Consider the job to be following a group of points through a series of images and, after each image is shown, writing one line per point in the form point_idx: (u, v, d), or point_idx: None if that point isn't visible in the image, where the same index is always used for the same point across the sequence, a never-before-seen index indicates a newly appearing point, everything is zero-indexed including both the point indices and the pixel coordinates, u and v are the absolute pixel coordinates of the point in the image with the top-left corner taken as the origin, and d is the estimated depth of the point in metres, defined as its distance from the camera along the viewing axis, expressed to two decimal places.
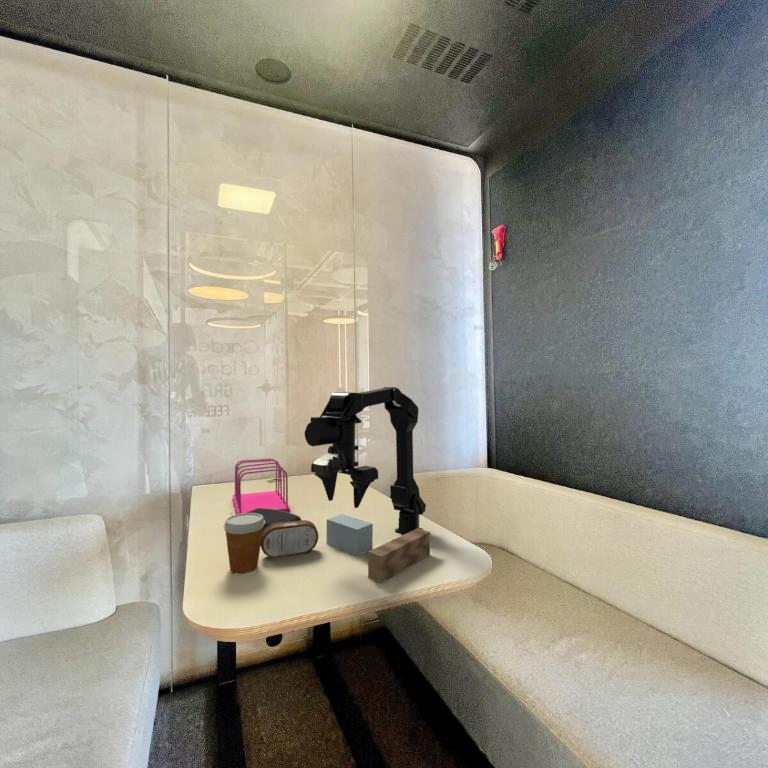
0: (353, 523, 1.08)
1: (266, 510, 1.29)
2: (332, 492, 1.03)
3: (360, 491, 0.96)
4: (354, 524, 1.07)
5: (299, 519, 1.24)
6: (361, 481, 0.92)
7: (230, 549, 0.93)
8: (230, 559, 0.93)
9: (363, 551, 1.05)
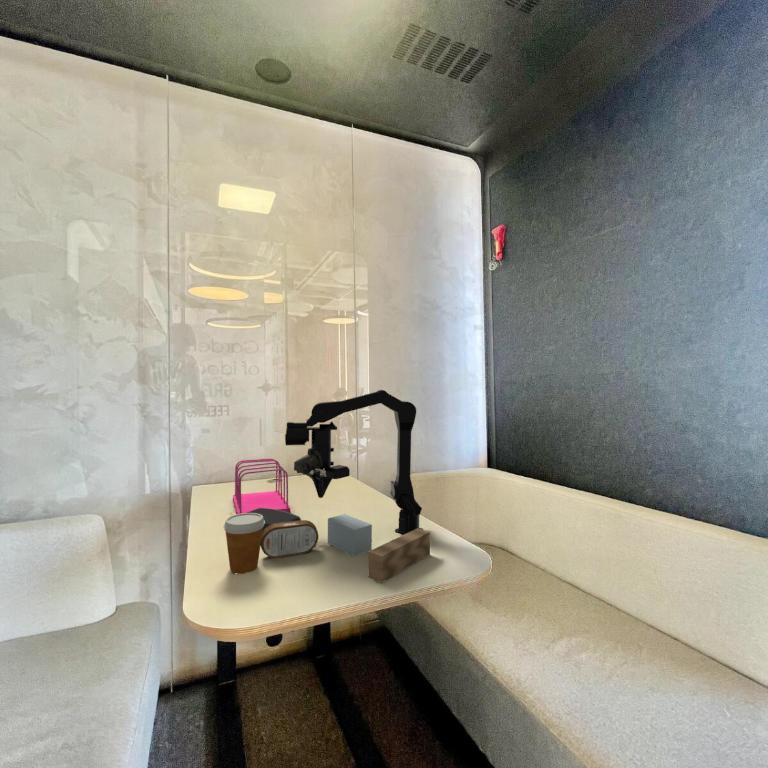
0: (352, 523, 1.08)
1: (267, 510, 1.29)
2: None
3: (324, 484, 1.17)
4: (353, 524, 1.07)
5: (299, 519, 1.24)
6: (334, 478, 1.09)
7: (230, 549, 0.93)
8: (230, 559, 0.93)
9: (361, 552, 1.05)
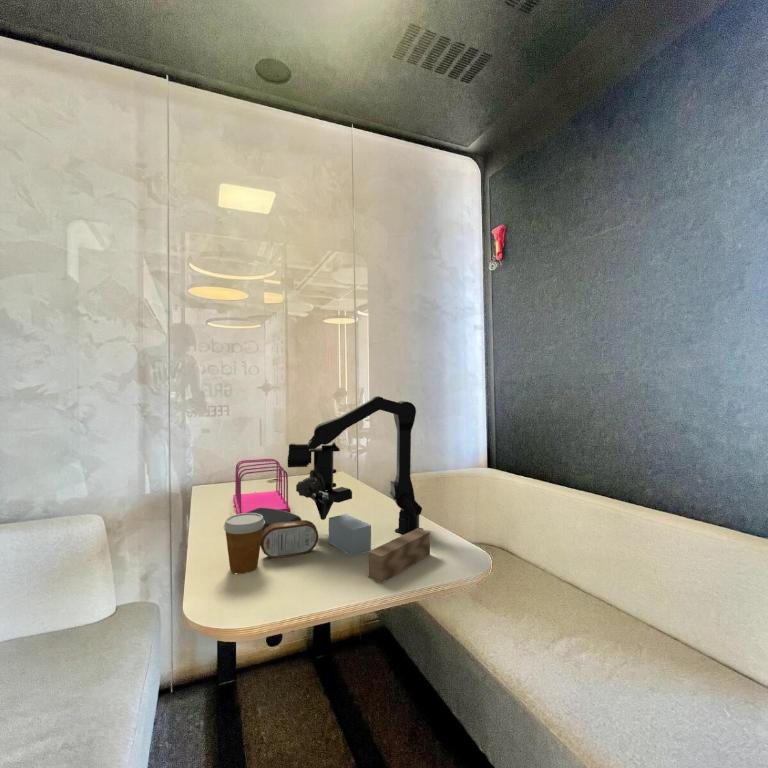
0: (352, 523, 1.08)
1: (267, 509, 1.29)
2: None
3: (326, 506, 1.16)
4: (353, 524, 1.07)
5: (299, 519, 1.24)
6: (337, 501, 1.09)
7: (230, 549, 0.93)
8: (230, 559, 0.93)
9: (360, 552, 1.05)
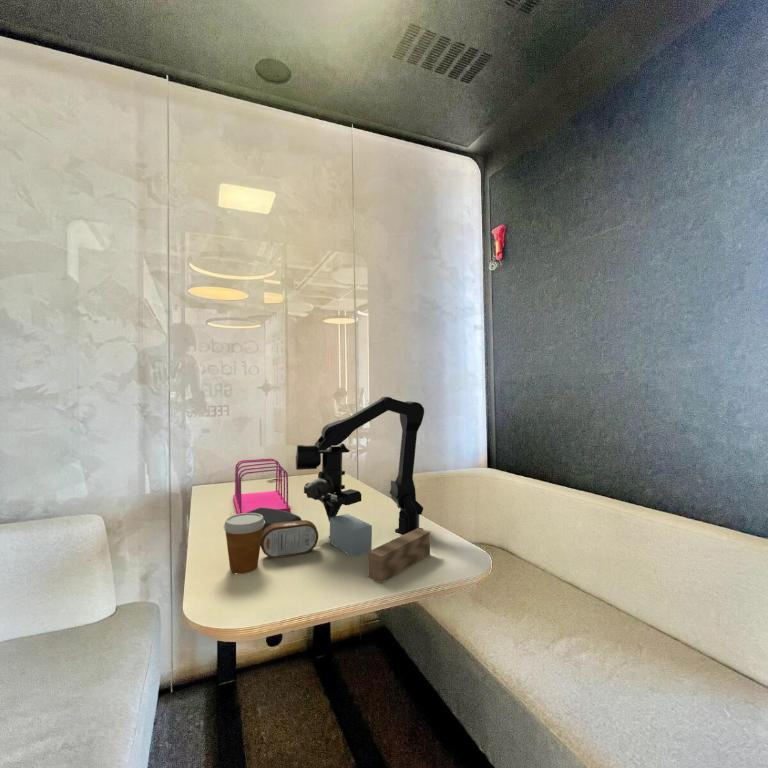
0: (353, 523, 1.07)
1: (268, 510, 1.30)
2: None
3: (335, 508, 1.14)
4: (353, 524, 1.07)
5: (299, 519, 1.24)
6: (346, 504, 1.06)
7: (230, 549, 0.93)
8: (230, 559, 0.93)
9: (360, 552, 1.04)
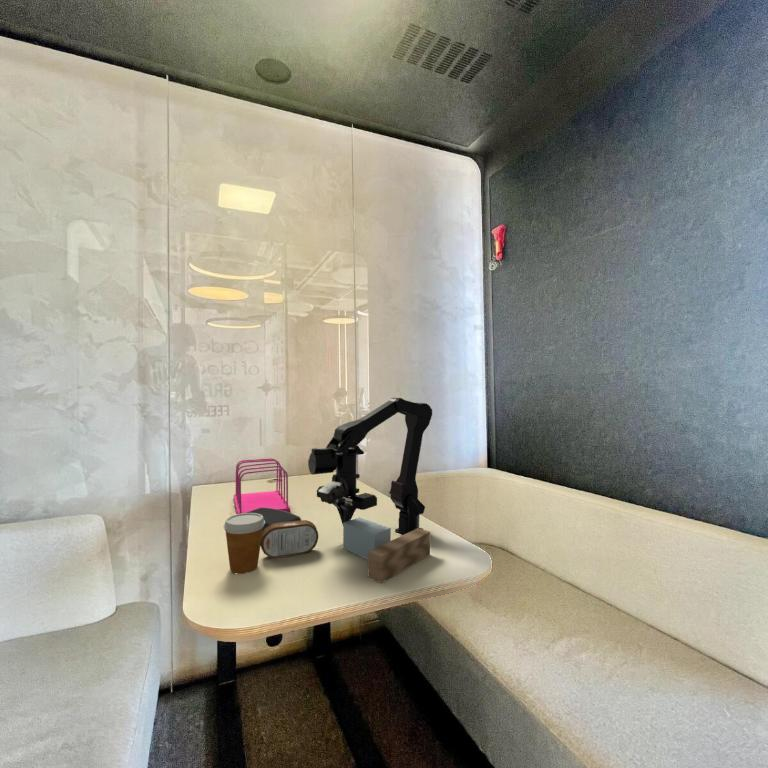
0: (371, 527, 1.05)
1: (268, 509, 1.30)
2: None
3: (349, 512, 1.10)
4: (372, 528, 1.04)
5: (299, 520, 1.23)
6: (361, 508, 1.03)
7: (230, 549, 0.93)
8: (230, 559, 0.93)
9: None
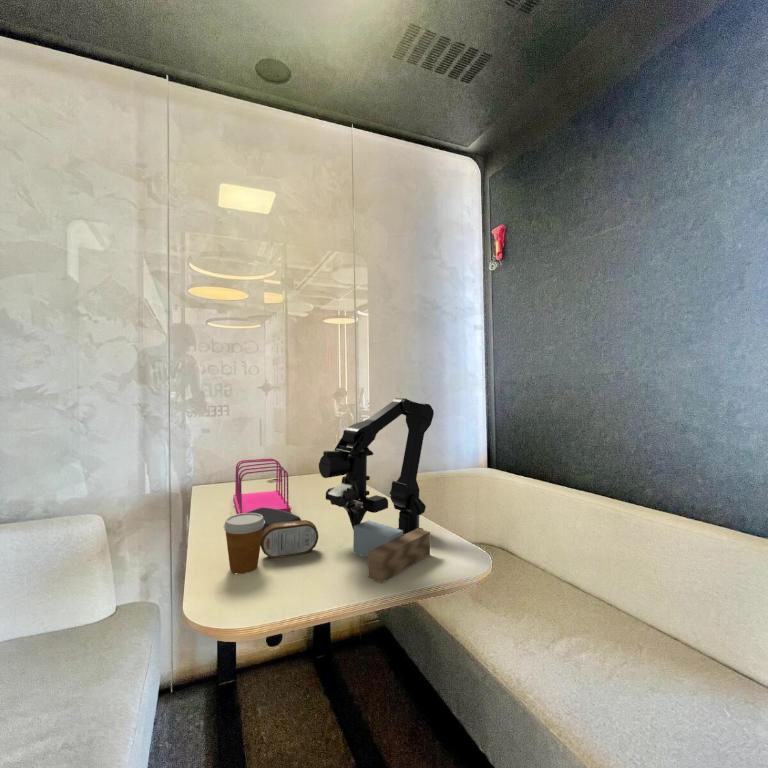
0: (383, 530, 1.03)
1: (269, 509, 1.30)
2: None
3: (359, 515, 1.07)
4: (384, 531, 1.02)
5: (299, 520, 1.23)
6: (373, 511, 1.00)
7: (230, 549, 0.93)
8: (230, 559, 0.93)
9: None
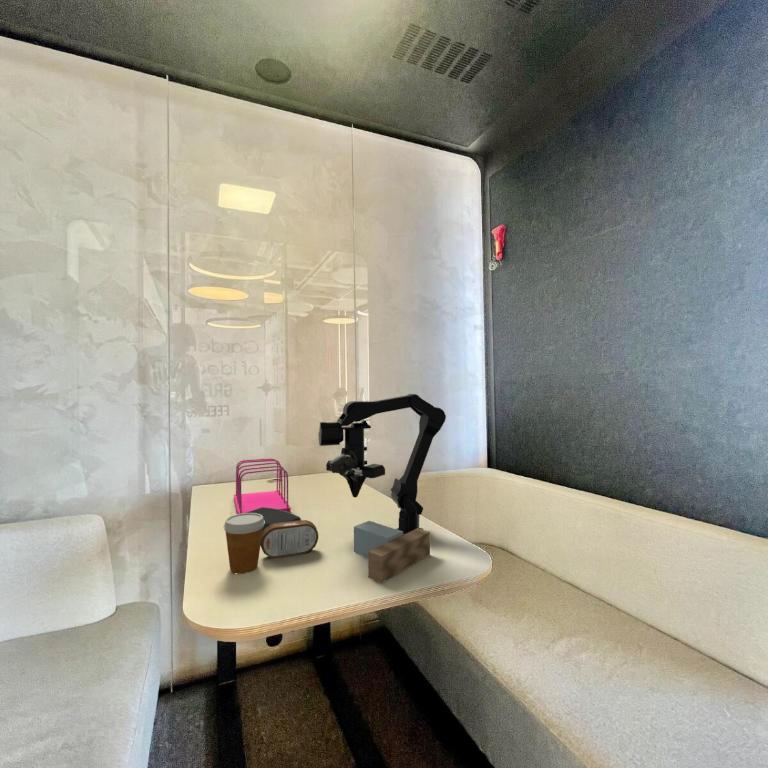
0: (382, 531, 1.02)
1: (269, 509, 1.30)
2: None
3: (358, 483, 1.16)
4: (384, 532, 1.02)
5: (299, 520, 1.23)
6: (371, 477, 1.09)
7: (230, 549, 0.93)
8: (230, 559, 0.93)
9: None
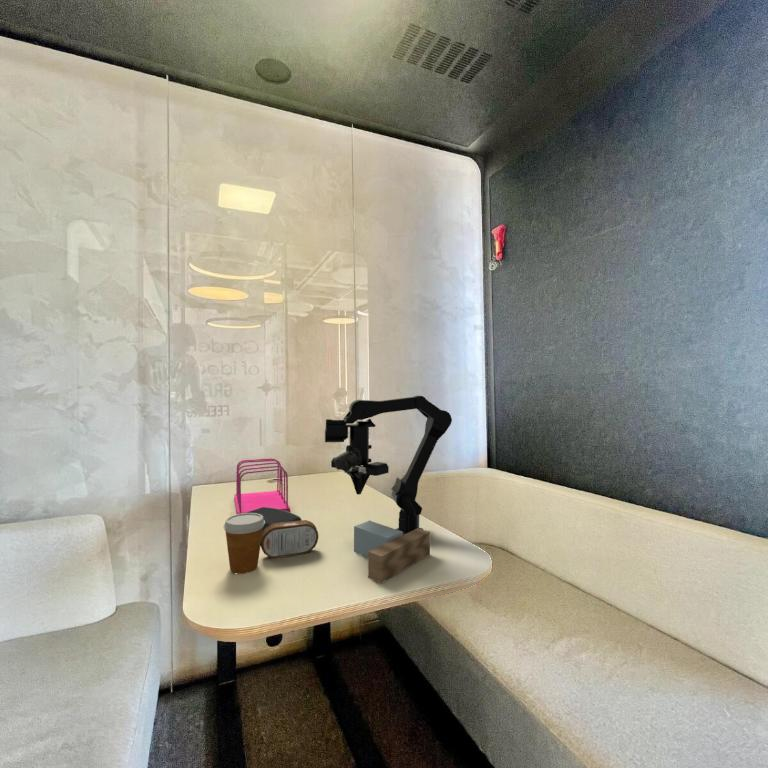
0: (382, 531, 1.02)
1: (270, 509, 1.30)
2: None
3: (362, 480, 1.18)
4: (384, 532, 1.02)
5: (299, 520, 1.23)
6: (375, 474, 1.11)
7: (230, 549, 0.93)
8: (230, 559, 0.93)
9: None
